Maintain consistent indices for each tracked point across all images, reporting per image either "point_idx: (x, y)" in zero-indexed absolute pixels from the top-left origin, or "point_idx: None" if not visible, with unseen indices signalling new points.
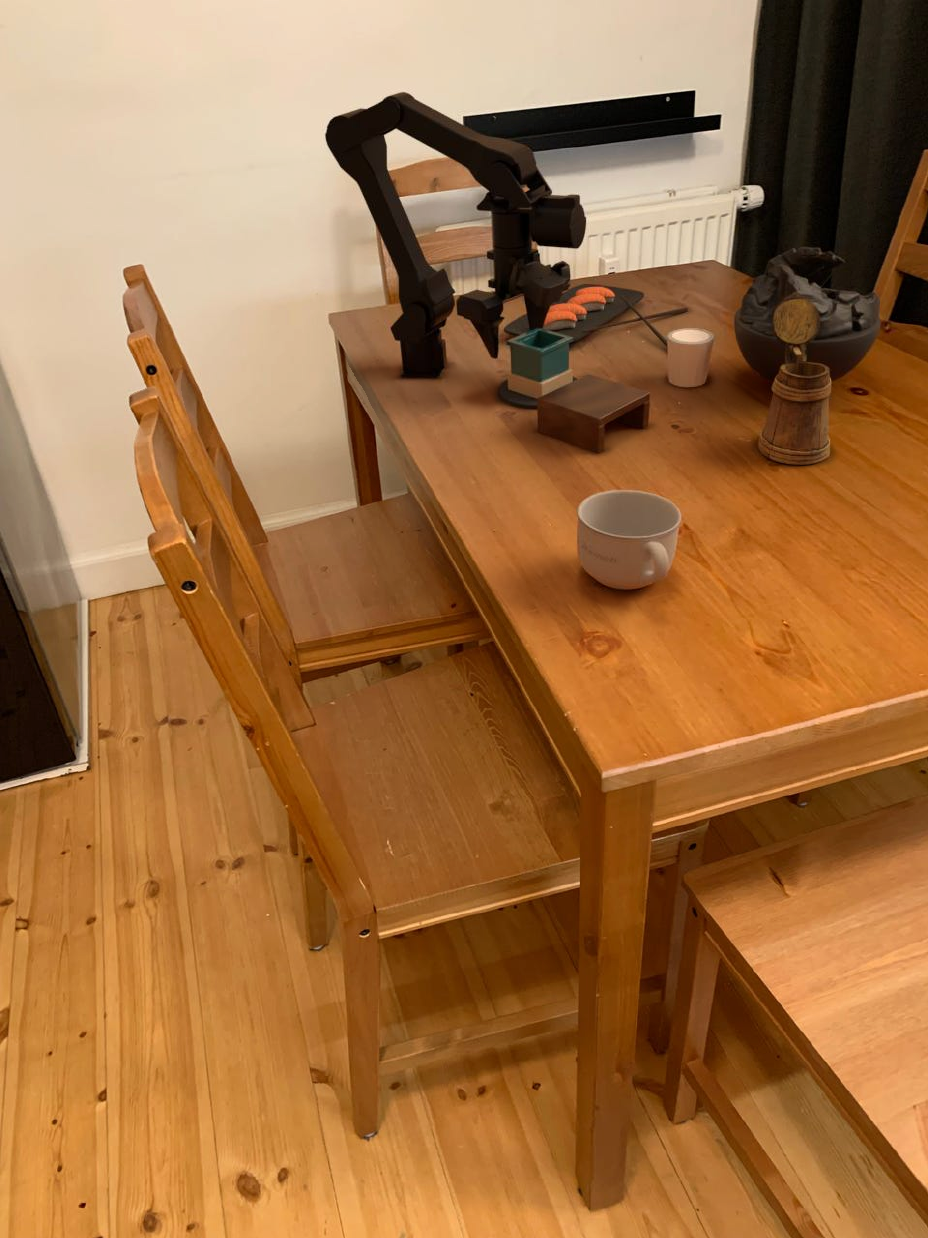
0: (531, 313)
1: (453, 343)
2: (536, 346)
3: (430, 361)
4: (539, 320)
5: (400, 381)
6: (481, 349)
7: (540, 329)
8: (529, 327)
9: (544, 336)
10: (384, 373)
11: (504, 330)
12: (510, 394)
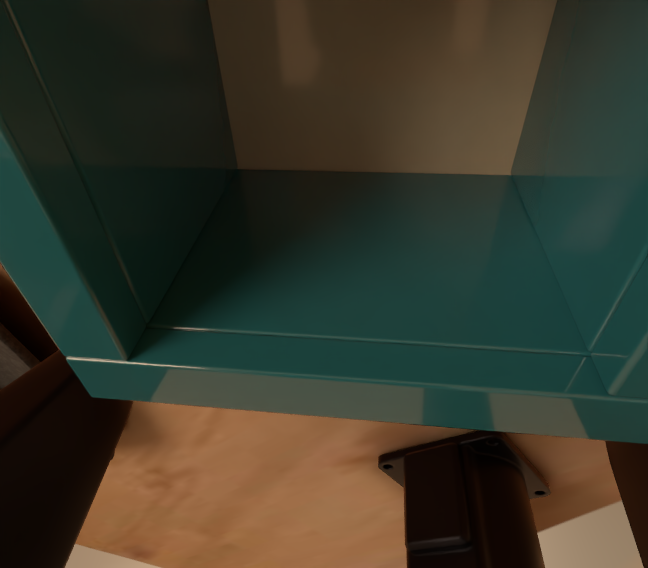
0: (31, 558)
1: (257, 486)
2: (223, 244)
3: (499, 494)
4: (9, 458)
5: (574, 474)
6: (226, 436)
7: (91, 357)
8: (119, 436)
9: (119, 242)
10: (535, 510)
11: (113, 455)
12: None
